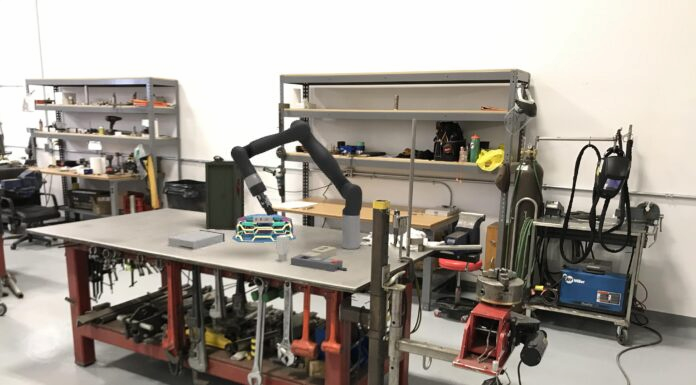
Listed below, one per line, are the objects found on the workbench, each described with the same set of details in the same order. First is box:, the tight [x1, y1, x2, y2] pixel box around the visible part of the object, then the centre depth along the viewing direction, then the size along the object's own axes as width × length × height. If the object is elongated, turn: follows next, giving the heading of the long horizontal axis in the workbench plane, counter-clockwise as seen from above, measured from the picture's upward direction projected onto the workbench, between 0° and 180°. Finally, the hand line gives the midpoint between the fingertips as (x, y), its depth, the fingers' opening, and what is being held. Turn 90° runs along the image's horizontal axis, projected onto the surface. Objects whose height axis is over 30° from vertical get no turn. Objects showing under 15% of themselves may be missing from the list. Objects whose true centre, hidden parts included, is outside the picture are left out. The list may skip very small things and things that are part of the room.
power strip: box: [290, 253, 348, 273], centre depth 220 cm, size 8×26×4 cm, turn 63°
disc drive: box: [167, 229, 226, 251], centre depth 259 cm, size 18×22×5 cm
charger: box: [276, 235, 290, 262], centre depth 228 cm, size 5×4×12 cm
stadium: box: [231, 213, 297, 244], centre depth 275 cm, size 35×24×14 cm
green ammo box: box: [204, 160, 245, 231], centre depth 303 cm, size 18×18×40 cm
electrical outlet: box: [301, 245, 337, 259], centre depth 236 cm, size 7×4×18 cm
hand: (271, 214), depth 233 cm, fingers open, 8 cm apart
